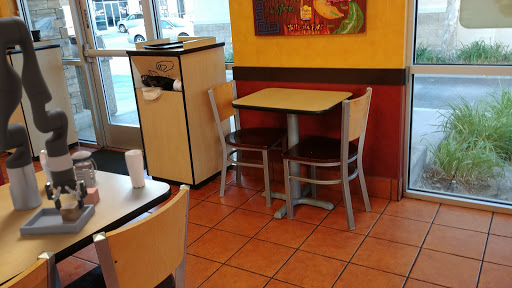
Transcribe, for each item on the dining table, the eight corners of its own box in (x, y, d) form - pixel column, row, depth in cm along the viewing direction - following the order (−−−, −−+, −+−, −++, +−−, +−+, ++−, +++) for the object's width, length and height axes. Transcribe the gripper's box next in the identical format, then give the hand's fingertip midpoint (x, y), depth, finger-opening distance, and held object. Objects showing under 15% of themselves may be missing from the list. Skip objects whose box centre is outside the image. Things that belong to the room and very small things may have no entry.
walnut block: (62, 221, 162) (59, 209, 161) (68, 215, 167) (65, 203, 166) (76, 221, 162) (73, 208, 161) (82, 214, 167) (79, 202, 165)
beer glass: (47, 182, 204) (39, 150, 199) (63, 179, 205) (56, 148, 201) (45, 188, 197) (37, 155, 193) (62, 185, 199) (55, 152, 194)
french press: (87, 179, 203) (76, 125, 196) (107, 182, 198) (96, 127, 190) (70, 188, 195) (58, 132, 187) (90, 191, 190) (78, 133, 182)
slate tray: (21, 236, 156) (19, 228, 155) (43, 214, 171) (41, 207, 170) (78, 233, 155) (76, 225, 154) (95, 211, 170) (93, 204, 169)
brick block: (82, 205, 177) (80, 193, 175) (87, 200, 182) (85, 188, 180) (95, 204, 177) (92, 193, 175) (99, 199, 181) (97, 187, 180)
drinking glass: (142, 189, 188) (137, 154, 183) (127, 189, 189) (121, 155, 185) (149, 182, 194) (144, 149, 189) (134, 182, 195) (129, 149, 191)
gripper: (35, 171, 155) (46, 215, 160) (77, 169, 154) (86, 212, 160) (46, 163, 162) (55, 205, 167) (85, 161, 162) (94, 203, 167)
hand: (70, 209), depth 163 cm, fingers open, 7 cm apart
